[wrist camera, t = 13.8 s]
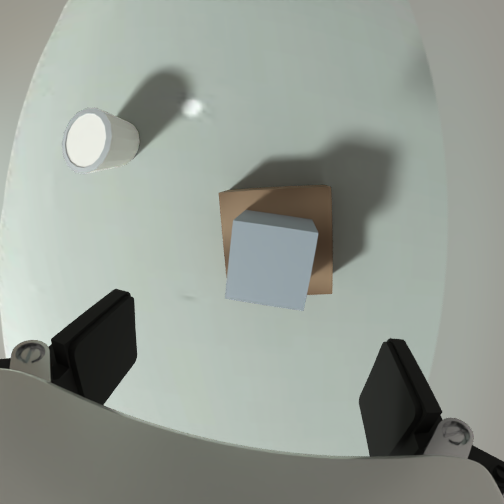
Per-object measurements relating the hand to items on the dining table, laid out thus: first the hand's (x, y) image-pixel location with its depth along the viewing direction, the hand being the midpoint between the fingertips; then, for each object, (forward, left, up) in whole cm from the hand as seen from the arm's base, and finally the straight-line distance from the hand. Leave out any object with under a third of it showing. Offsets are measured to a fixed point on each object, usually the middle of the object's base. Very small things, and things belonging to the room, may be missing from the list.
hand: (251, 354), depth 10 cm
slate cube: (+1, 0, -18) cm, 18 cm away
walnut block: (0, 0, -23) cm, 23 cm away
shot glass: (-8, -20, -23) cm, 31 cm away
